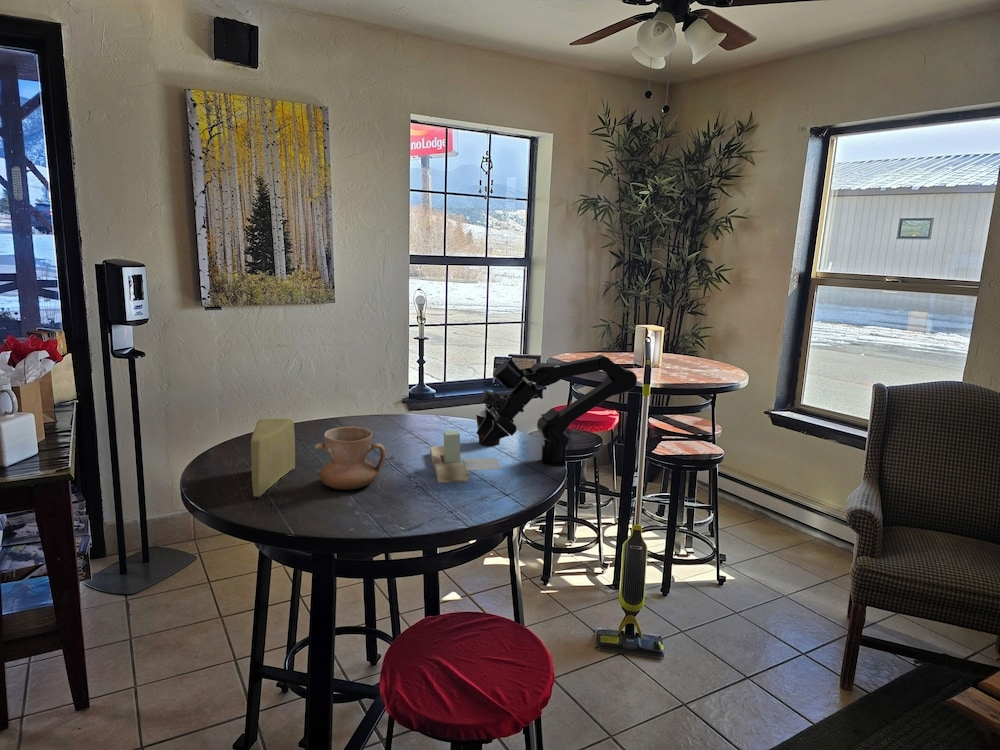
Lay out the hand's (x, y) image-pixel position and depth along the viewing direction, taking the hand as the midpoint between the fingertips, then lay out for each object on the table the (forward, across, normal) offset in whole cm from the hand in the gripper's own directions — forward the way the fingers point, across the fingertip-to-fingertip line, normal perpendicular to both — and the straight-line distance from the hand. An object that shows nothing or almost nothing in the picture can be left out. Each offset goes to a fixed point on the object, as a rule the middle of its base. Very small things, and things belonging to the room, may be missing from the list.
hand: (480, 438), depth 183 cm
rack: (+12, 0, 0) cm, 12 cm away
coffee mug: (+1, -21, +11) cm, 24 cm away
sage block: (+11, 0, 0) cm, 11 cm away
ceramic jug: (+31, +9, -20) cm, 38 cm away
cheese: (+45, +5, -36) cm, 58 cm away
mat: (+5, -1, +6) cm, 8 cm away
